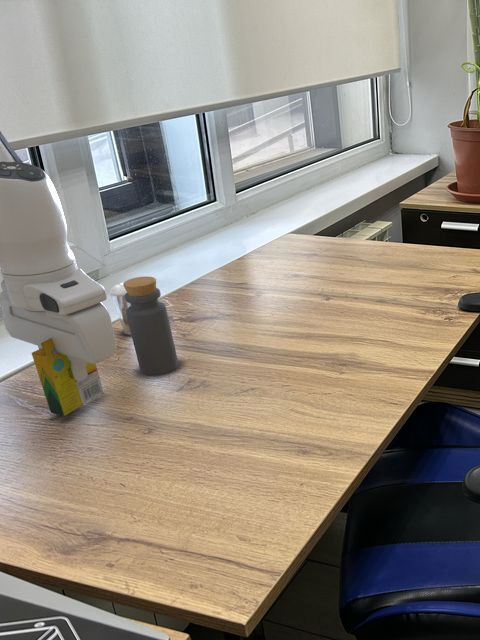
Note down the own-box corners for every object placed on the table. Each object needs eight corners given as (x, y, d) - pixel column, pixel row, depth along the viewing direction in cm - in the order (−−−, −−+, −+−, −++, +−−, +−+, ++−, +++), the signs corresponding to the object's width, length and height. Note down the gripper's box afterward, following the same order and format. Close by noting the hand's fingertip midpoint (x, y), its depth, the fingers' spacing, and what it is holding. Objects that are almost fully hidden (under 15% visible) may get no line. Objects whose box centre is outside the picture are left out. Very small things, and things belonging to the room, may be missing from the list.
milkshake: (133, 339, 126) (120, 286, 121) (115, 333, 128) (101, 281, 124) (155, 330, 129) (143, 278, 125) (137, 324, 132) (125, 273, 127)
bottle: (184, 367, 115) (166, 280, 109) (149, 379, 112) (127, 290, 105) (169, 356, 119) (150, 272, 113) (134, 368, 115) (113, 281, 109)
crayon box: (90, 390, 108) (71, 319, 102) (105, 393, 107) (86, 322, 102) (48, 413, 101) (26, 339, 96) (64, 417, 100) (42, 342, 95)
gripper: (-24, 280, 98) (5, 368, 104) (69, 306, 89) (95, 401, 95) (21, 266, 103) (46, 352, 109) (113, 290, 94) (135, 381, 100)
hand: (69, 375), depth 102 cm, fingers closed on crayon box, 3 cm apart
